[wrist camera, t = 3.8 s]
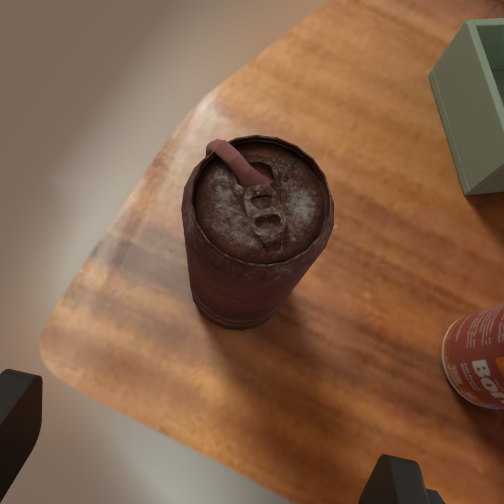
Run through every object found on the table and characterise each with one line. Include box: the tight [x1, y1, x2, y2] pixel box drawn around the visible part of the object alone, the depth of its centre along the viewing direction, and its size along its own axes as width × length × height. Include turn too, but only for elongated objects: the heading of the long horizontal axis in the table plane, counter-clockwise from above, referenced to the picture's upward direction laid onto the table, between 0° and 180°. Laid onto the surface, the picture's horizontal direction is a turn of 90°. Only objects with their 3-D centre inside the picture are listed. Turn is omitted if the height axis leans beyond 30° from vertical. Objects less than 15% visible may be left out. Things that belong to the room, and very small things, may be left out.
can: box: [181, 135, 334, 330], centre depth 24 cm, size 6×6×14 cm
